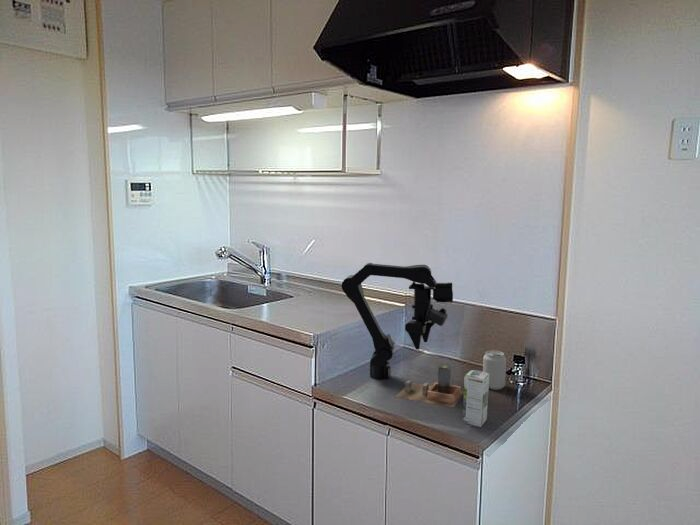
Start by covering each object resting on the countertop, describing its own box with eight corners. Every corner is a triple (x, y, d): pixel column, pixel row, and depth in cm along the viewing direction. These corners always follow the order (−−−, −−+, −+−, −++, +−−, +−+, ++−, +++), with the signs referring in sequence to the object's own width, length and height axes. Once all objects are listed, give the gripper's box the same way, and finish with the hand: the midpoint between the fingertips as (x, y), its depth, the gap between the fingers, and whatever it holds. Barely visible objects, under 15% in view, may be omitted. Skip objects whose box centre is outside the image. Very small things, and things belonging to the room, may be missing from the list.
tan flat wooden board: (395, 399, 166) (395, 387, 166) (409, 385, 179) (409, 373, 178) (453, 410, 158) (454, 397, 158) (464, 394, 171) (464, 382, 170)
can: (493, 392, 172) (494, 357, 171) (477, 384, 179) (478, 351, 177) (509, 388, 176) (511, 354, 174) (494, 381, 182) (495, 348, 181)
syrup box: (468, 415, 155) (469, 369, 153) (487, 420, 152) (489, 372, 150) (461, 423, 150) (463, 375, 148) (482, 427, 147) (484, 378, 145)
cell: (436, 396, 165) (436, 367, 164) (439, 392, 169) (439, 363, 168) (448, 398, 164) (449, 369, 163) (451, 393, 167) (452, 365, 166)
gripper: (437, 309, 166) (436, 356, 169) (452, 298, 183) (451, 341, 185) (404, 306, 171) (404, 352, 173) (421, 295, 188) (421, 337, 190)
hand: (421, 345), depth 180 cm, fingers open, 9 cm apart
